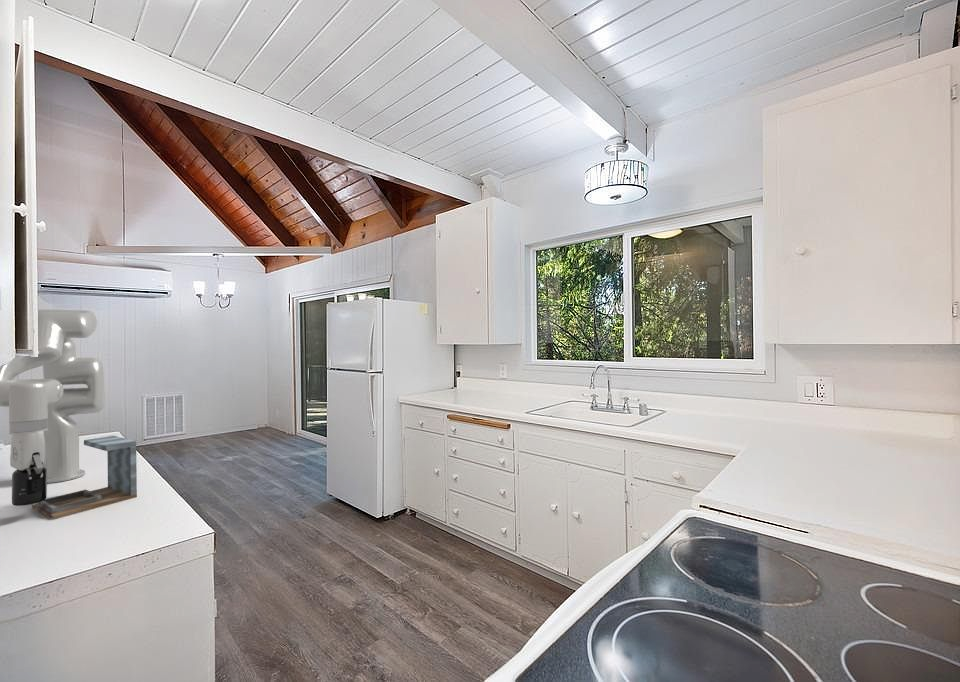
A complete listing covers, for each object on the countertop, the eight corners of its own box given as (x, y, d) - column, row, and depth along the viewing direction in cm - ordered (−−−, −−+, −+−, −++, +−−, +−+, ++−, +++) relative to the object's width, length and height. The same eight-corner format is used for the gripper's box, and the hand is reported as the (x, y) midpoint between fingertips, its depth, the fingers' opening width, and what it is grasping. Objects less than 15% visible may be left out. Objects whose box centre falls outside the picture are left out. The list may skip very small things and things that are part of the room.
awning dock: (32, 508, 129) (31, 448, 129) (113, 488, 146) (112, 435, 146) (53, 519, 121) (52, 455, 121) (136, 497, 138) (136, 440, 138)
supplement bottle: (24, 507, 119) (23, 462, 119) (4, 505, 120) (4, 461, 120) (53, 498, 125) (53, 456, 125) (34, 496, 127) (34, 454, 127)
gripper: (-1, 425, 124) (0, 489, 124) (20, 432, 115) (21, 500, 115) (36, 421, 130) (36, 482, 130) (59, 427, 122) (60, 491, 122)
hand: (29, 490), depth 123 cm, fingers closed on supplement bottle, 6 cm apart
